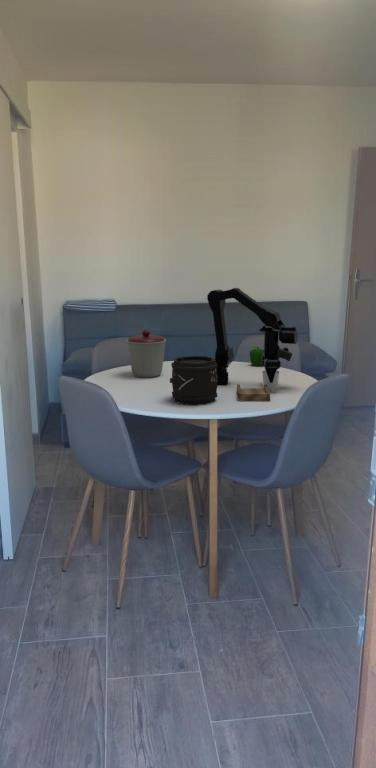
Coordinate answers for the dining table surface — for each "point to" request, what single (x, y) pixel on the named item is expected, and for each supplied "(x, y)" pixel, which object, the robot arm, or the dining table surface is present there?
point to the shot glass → (267, 382)
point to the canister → (146, 354)
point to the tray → (253, 394)
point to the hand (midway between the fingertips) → (270, 380)
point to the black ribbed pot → (194, 380)
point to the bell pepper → (256, 356)
